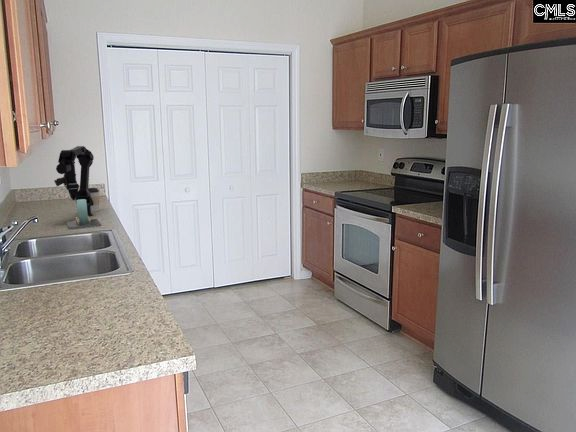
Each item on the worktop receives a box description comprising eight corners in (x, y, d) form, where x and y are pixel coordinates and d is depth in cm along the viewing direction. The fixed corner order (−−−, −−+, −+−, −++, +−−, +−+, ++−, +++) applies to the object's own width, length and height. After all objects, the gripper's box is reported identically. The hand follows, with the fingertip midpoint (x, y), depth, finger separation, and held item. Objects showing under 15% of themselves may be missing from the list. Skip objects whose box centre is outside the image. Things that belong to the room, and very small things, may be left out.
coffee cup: (86, 210, 306) (83, 187, 303) (101, 209, 309) (98, 186, 306) (85, 212, 298) (83, 189, 295) (100, 211, 301) (98, 188, 298)
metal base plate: (66, 224, 265) (65, 216, 264) (96, 220, 272) (96, 213, 272) (69, 229, 251) (68, 221, 250) (101, 225, 259) (100, 218, 258)
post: (78, 222, 262) (75, 199, 260) (87, 221, 265) (85, 198, 262) (79, 224, 258) (76, 201, 256) (89, 223, 261) (86, 200, 258)
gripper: (52, 171, 270) (55, 198, 274) (55, 174, 255) (58, 202, 258) (73, 170, 276) (76, 196, 279) (77, 173, 260) (80, 200, 263)
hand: (72, 199), depth 270 cm, fingers open, 9 cm apart
